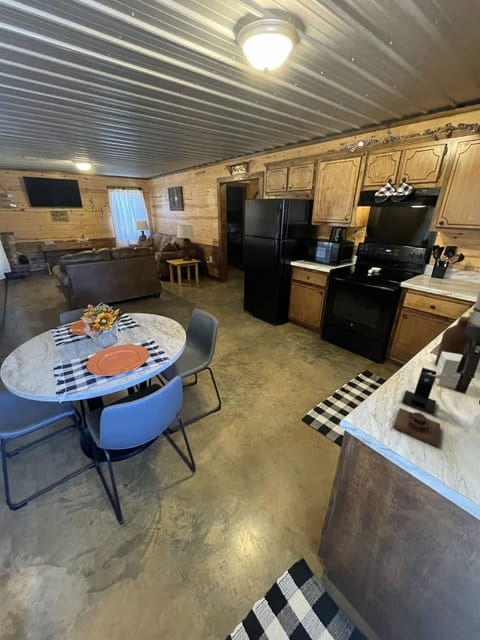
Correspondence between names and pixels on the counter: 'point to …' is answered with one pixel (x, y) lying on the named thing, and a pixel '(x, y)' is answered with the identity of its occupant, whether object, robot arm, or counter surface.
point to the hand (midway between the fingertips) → (460, 382)
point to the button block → (417, 427)
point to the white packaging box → (448, 368)
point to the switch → (444, 376)
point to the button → (419, 418)
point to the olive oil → (454, 339)
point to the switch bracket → (422, 393)
